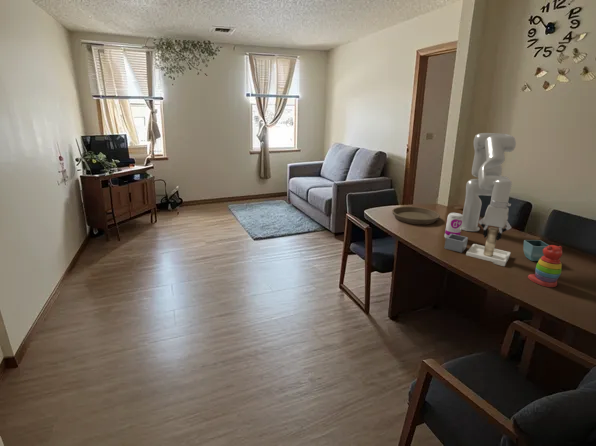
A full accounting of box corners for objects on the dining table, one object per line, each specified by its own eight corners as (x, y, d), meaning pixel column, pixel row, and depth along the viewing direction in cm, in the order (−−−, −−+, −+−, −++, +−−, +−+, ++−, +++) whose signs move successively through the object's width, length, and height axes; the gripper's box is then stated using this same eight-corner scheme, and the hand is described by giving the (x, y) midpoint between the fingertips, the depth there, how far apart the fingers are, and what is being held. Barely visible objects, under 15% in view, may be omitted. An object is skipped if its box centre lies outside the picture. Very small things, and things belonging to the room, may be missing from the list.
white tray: (472, 247, 198) (473, 243, 197) (509, 256, 188) (510, 252, 187) (465, 256, 187) (466, 252, 186) (504, 266, 176) (505, 261, 176)
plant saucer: (396, 209, 266) (397, 203, 264) (441, 215, 253) (442, 209, 252) (387, 221, 239) (387, 214, 238) (436, 229, 227) (437, 222, 225)
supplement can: (460, 242, 206) (465, 217, 201) (445, 240, 207) (449, 216, 202) (457, 237, 213) (461, 212, 208) (443, 235, 215) (446, 211, 210)
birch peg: (484, 252, 190) (489, 227, 186) (493, 254, 187) (499, 229, 183) (482, 254, 186) (488, 229, 182) (491, 256, 184) (497, 231, 180)
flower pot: (519, 255, 190) (523, 239, 187) (536, 255, 189) (540, 240, 186) (529, 262, 181) (533, 246, 178) (547, 263, 181) (551, 246, 178)
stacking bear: (549, 277, 166) (559, 241, 161) (563, 288, 157) (575, 250, 151) (525, 276, 167) (534, 240, 161) (538, 287, 157) (548, 249, 151)
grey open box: (449, 244, 202) (450, 233, 199) (466, 248, 196) (468, 237, 194) (444, 249, 195) (446, 237, 193) (461, 254, 190) (463, 242, 187)
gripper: (519, 205, 176) (511, 240, 182) (481, 199, 186) (475, 232, 192) (517, 209, 170) (509, 244, 176) (478, 202, 180) (471, 236, 186)
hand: (491, 237), depth 184 cm, fingers open, 5 cm apart
